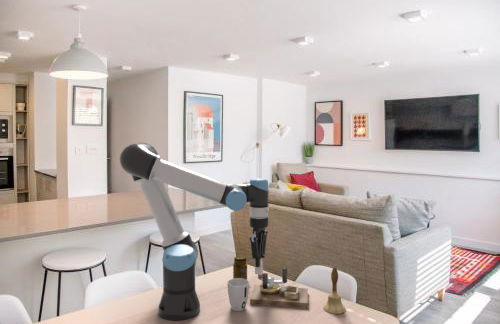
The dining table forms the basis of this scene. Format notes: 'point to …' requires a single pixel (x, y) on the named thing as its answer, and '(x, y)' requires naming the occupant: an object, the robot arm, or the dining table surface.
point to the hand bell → (334, 297)
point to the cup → (238, 293)
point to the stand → (281, 297)
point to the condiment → (240, 267)
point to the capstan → (271, 282)
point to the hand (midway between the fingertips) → (258, 273)
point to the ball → (282, 289)
